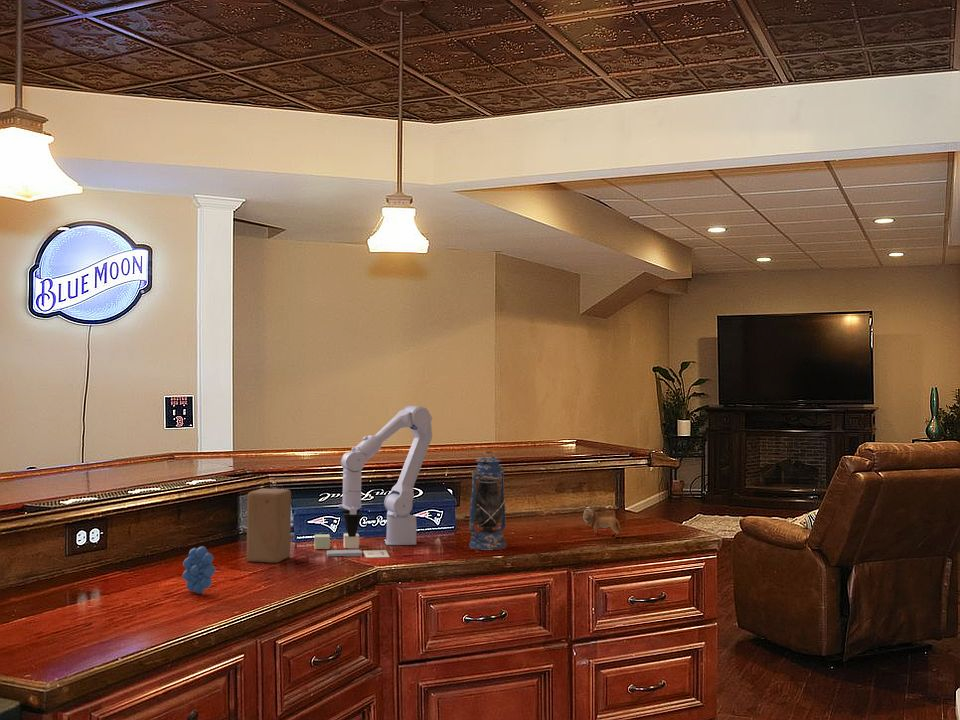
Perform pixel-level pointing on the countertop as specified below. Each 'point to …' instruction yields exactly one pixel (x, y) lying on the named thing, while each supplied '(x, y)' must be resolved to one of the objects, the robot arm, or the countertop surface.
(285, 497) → the wooden block
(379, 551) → the page
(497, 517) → the lantern
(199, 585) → the grapes
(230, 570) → the countertop surface
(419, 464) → the robot arm
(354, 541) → the brick
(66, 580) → the countertop surface
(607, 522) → the lion figurine
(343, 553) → the base brick
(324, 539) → the pale green cube
